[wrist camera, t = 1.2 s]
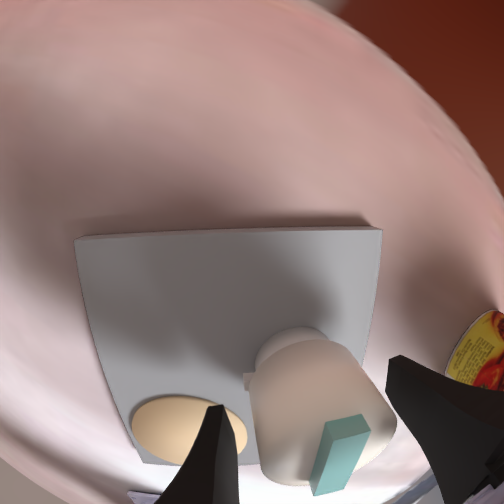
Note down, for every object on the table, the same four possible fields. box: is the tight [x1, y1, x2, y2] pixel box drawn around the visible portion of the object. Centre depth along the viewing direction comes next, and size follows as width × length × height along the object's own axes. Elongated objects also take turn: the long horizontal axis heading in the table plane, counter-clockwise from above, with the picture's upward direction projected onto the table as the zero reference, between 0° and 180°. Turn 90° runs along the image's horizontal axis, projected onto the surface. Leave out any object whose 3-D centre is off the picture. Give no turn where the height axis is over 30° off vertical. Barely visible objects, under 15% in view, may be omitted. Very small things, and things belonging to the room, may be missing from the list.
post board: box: [74, 226, 383, 466], centre depth 13 cm, size 16×14×3 cm
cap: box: [249, 339, 397, 496], centre depth 9 cm, size 5×5×5 cm
